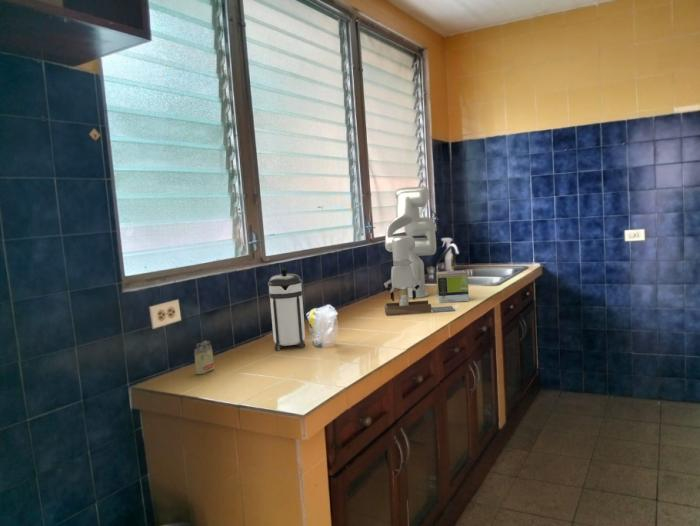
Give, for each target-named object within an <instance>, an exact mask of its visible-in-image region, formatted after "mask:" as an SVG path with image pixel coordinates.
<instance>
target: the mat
mask: <svg viewBox="0 0 700 526" xmlns="http://www.w3.org/2000/svg"><path fill="white" fill-rule="evenodd" d="M431 312H433V313H444V312H445V313H447V312H456V309H455V308H454V307H453V306H452V305H449V306H435V307H434V306H433V307H432V306H431Z"/></svg>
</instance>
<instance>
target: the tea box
mask: <svg viewBox="0 0 700 526" xmlns="http://www.w3.org/2000/svg"><path fill="white" fill-rule="evenodd" d="M435 274H436V275H435V276H436V292H437V300H438V303H439V304H440V303H455V302H469V301H470V297H469V295H470V294H469V282H468V272H467V271H466V270H464V269H463V270H450V271H437V272H435Z"/></svg>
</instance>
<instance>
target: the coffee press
mask: <svg viewBox="0 0 700 526" xmlns="http://www.w3.org/2000/svg"><path fill="white" fill-rule="evenodd" d="M280 272H281V274H276V275H272V276H271V277H269V280H268V282H267V285H268V291H269V292H268V296H269V302H270V314H271V315H270V316H271V324H272V325H271V326H272V337H273V342H274V344H275V345H274V350H275V351H280V350H281V348H282V347H283V346H285V347H287V346H294V345H297V346H298V347H299V348H301V349H304V348H306V344H305V339H306V330H305V329H306V327H305V316H304V314H305V313H304V304H303V288H302V283H303V280H302V279H301V277H300V275H298V274H296V273H287V272H288V270H287V268H286V267H281V270H280Z"/></svg>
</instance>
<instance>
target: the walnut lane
mask: <svg viewBox="0 0 700 526" xmlns="http://www.w3.org/2000/svg"><path fill="white" fill-rule="evenodd" d="M383 305H384V313H385V316H387V317H388V316H389V317H390V316H401V315H403V316H404V315H417V314H418V315H419V314H420V315H421V314H430V313H432V310H431V307H432V304H431V303H429V300H416V301H415V300H413V301H408V305H406V306H399V301H398V302H385V303H384V304H383Z"/></svg>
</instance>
